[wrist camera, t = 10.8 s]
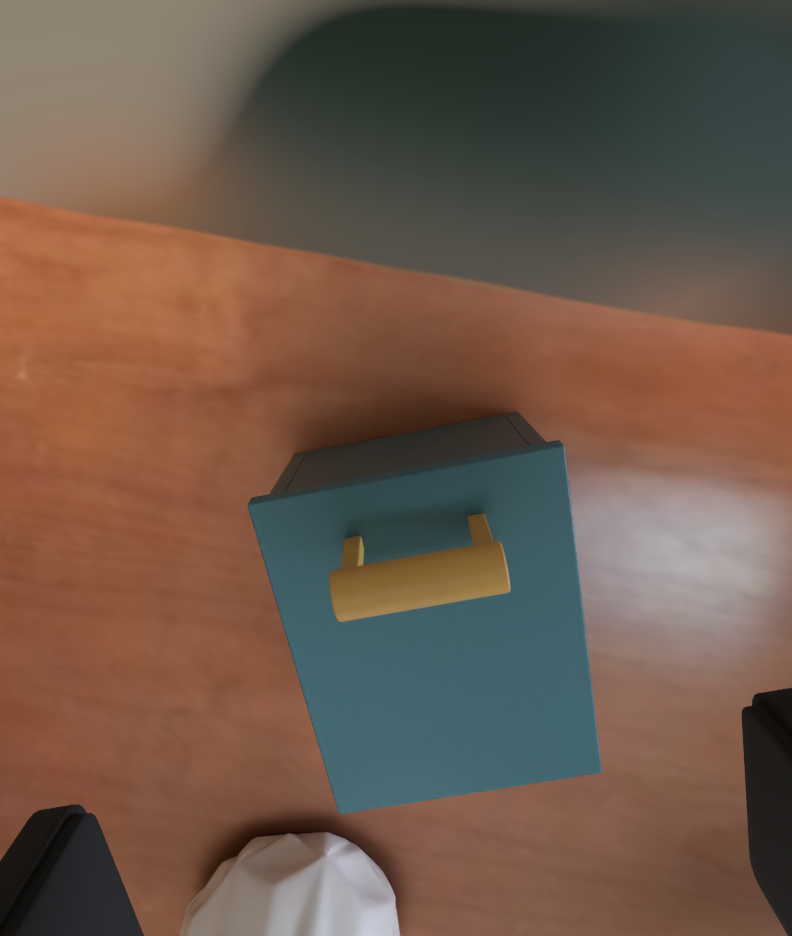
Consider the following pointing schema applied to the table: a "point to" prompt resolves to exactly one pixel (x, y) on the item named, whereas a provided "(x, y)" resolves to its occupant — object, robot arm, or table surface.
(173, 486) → the table surface
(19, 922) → the robot arm
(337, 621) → the lid
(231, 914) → the vase
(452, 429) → the chest
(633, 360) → the table surface
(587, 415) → the table surface
